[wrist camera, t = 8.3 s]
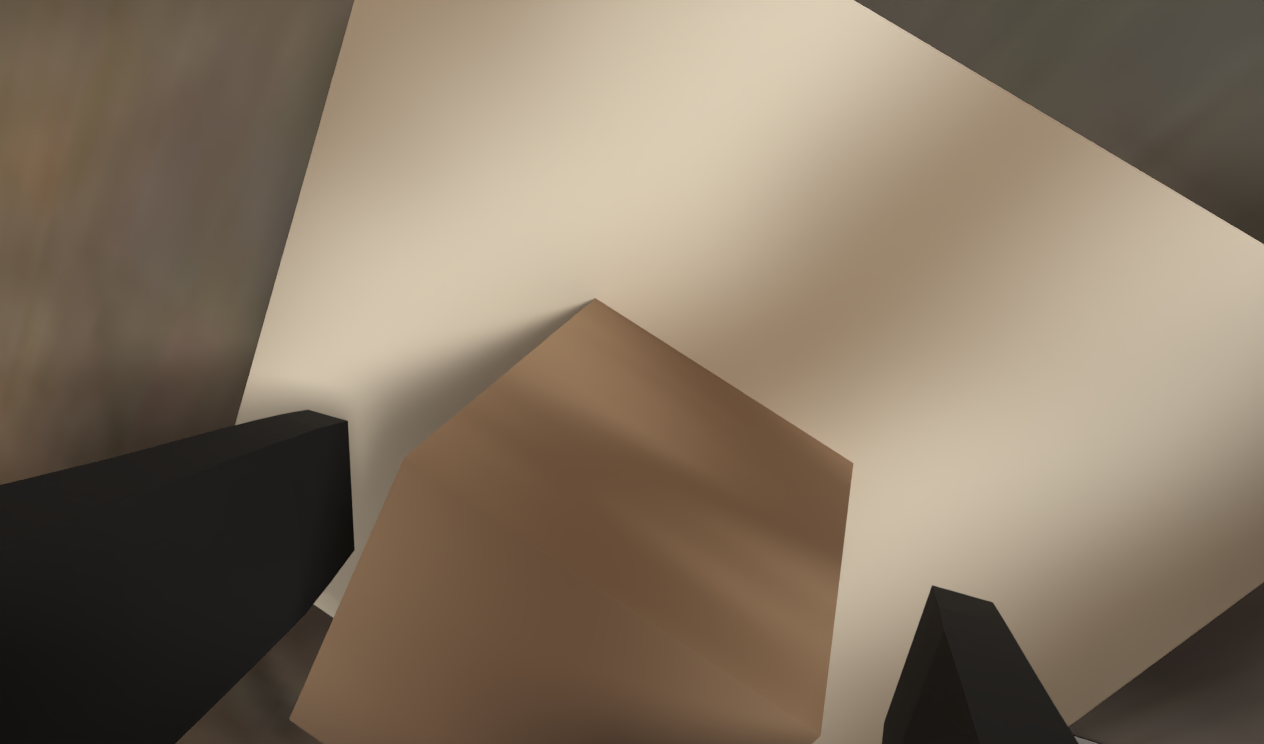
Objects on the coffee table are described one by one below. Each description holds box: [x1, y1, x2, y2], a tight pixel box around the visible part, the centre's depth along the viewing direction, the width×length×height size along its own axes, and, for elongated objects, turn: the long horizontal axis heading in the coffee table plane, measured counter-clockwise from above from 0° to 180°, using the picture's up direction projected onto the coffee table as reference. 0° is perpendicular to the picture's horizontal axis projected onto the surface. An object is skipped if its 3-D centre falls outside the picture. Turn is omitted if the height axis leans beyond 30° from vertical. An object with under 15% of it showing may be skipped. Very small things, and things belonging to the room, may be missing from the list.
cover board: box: [235, 0, 1264, 744], centre depth 9 cm, size 13×13×5 cm
